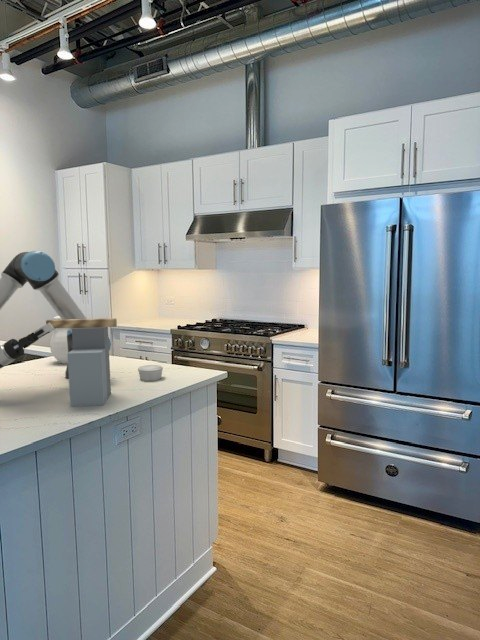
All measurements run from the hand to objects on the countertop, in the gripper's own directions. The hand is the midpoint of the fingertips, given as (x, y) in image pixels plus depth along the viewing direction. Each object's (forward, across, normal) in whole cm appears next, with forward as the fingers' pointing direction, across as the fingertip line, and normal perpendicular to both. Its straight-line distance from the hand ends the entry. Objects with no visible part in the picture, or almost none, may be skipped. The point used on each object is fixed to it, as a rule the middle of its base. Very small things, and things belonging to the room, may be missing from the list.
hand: (57, 323), depth 179 cm
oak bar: (+7, 0, +6) cm, 10 cm away
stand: (-4, -4, +32) cm, 33 cm away
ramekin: (+13, +26, +42) cm, 51 cm away
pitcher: (-28, +70, +19) cm, 77 cm away
